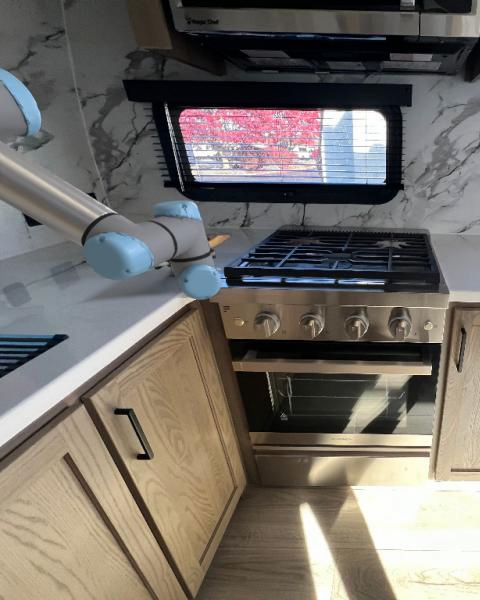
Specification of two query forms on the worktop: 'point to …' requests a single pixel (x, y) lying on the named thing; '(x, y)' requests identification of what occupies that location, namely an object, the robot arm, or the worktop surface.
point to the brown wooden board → (216, 239)
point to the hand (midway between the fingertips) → (176, 244)
